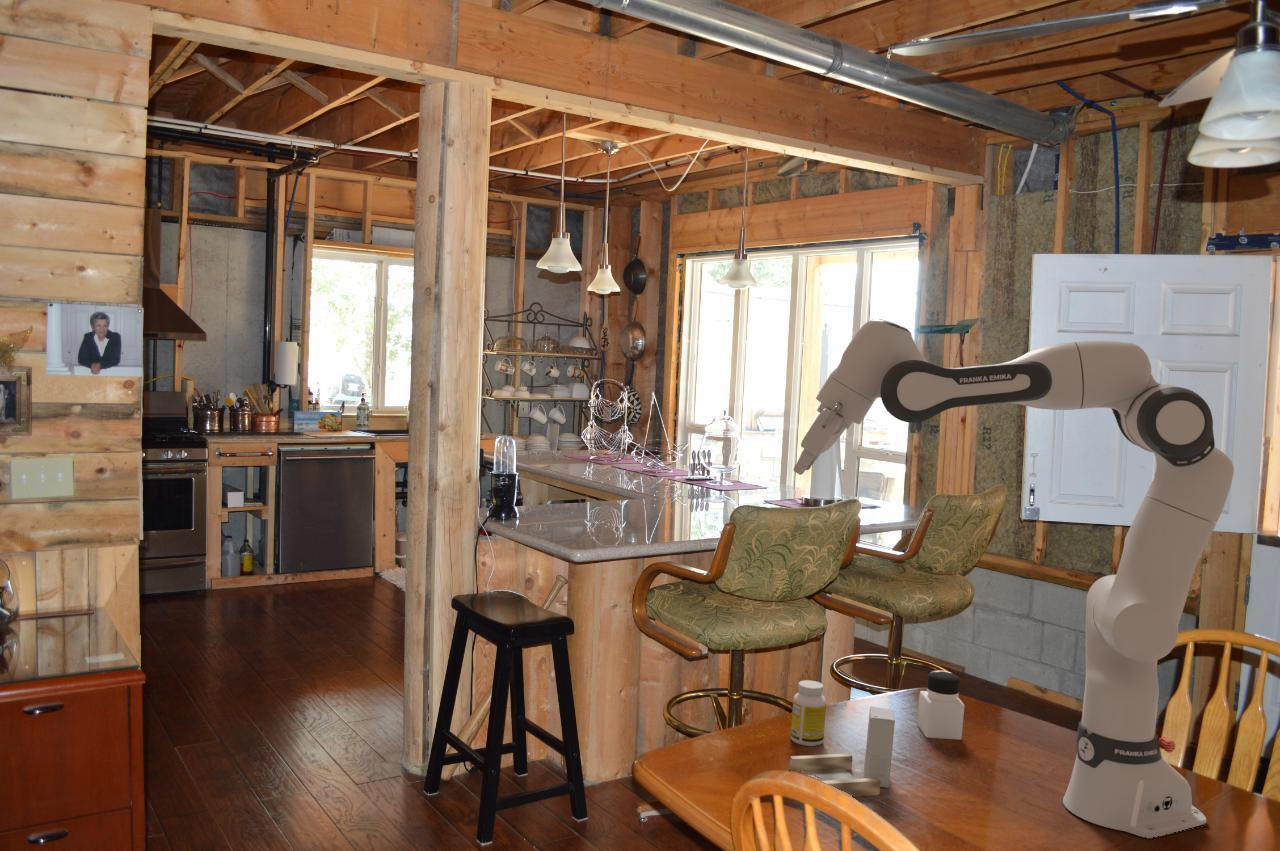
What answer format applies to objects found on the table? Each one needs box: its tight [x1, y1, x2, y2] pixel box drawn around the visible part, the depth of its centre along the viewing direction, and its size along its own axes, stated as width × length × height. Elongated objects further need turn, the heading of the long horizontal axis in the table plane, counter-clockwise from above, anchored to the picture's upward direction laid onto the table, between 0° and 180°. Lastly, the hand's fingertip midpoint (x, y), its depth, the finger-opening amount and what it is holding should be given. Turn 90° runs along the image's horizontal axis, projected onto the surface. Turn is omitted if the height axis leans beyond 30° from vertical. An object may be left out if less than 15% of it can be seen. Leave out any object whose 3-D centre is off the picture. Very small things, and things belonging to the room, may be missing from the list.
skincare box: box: [863, 706, 896, 789], centre depth 178 cm, size 6×4×12 cm
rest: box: [788, 752, 881, 798], centre depth 176 cm, size 12×11×2 cm
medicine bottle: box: [916, 670, 966, 741], centre depth 203 cm, size 7×7×12 cm
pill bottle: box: [790, 679, 827, 747], centre depth 194 cm, size 6×6×11 cm
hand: (800, 470), depth 179 cm, fingers open, 8 cm apart
